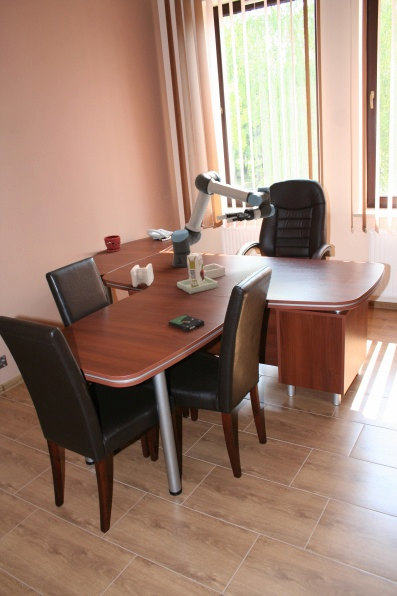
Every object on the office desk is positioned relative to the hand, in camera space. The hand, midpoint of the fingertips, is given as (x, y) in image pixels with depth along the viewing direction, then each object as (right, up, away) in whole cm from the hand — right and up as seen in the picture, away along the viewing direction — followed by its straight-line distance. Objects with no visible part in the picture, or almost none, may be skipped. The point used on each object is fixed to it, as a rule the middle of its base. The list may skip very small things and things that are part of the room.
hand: (222, 219), depth 301 cm
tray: (-15, -42, -15) cm, 47 cm away
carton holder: (-7, -34, +5) cm, 35 cm away
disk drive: (-20, -62, -70) cm, 95 cm away
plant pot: (-84, -9, +105) cm, 135 cm away
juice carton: (-15, -41, -15) cm, 46 cm away
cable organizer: (-48, -40, +2) cm, 63 cm away
